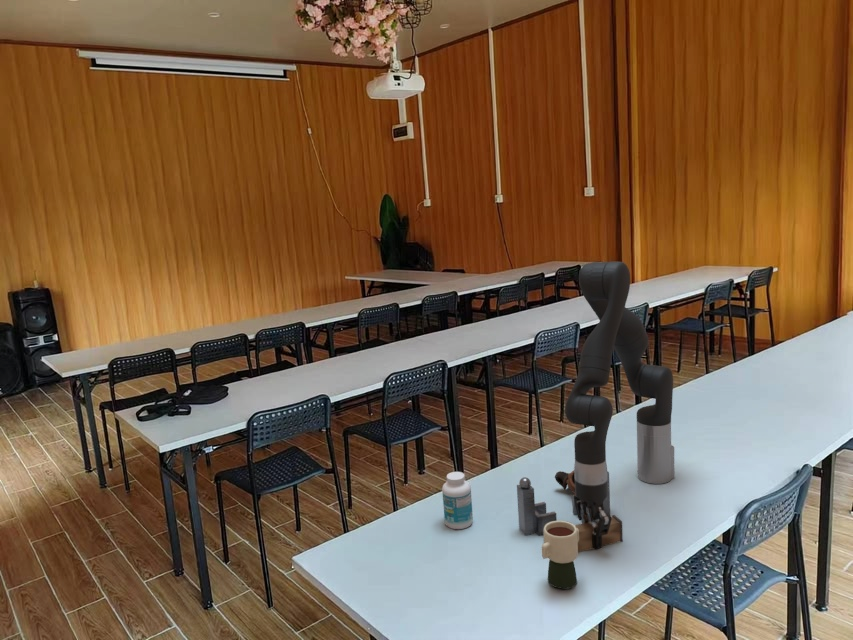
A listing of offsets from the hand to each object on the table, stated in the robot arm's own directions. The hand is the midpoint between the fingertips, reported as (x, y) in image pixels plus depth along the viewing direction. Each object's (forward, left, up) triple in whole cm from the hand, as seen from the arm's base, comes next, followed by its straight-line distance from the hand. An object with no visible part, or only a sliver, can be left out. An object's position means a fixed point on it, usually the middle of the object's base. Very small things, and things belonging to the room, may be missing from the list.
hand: (593, 543), depth 158 cm
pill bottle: (+26, -23, 0) cm, 35 cm away
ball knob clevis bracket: (+1, -12, 0) cm, 12 cm away
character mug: (+14, +11, 0) cm, 18 cm away
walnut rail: (0, 0, 0) cm, 0 cm away
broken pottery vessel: (-9, -25, -1) cm, 27 cm away
